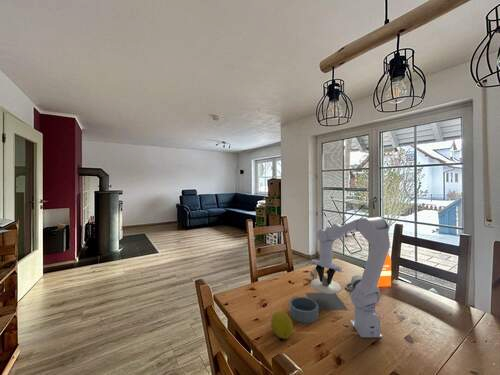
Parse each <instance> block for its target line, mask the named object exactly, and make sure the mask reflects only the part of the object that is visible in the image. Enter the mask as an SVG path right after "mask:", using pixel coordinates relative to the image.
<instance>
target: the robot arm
mask: <svg viewBox="0 0 500 375" xmlns="http://www.w3.org/2000/svg"><path fill="white" fill-rule="evenodd" d="M354 231H356V232H359V234H360V235H361V236H362V237H363V238H364V239H365V240H366V241H367V242H368V244H370V249H369V253H368V256H367V260H366V262H365V266H364V270H363V272H362V275H361V277H362V279H361V281H360V282H359V283H358V284H357V285H356V286H355V289H354V290H351V292H350V297H349V298H350V300H351V303H352V304H353V306H354V317H353V318H354V319H353V320H350V321H349V322H350V323H351V324H352V327H354V328H355V330H356V331H357V333H358V335H359V336H360V337H361V338H383V334H382V333H381V320H380V317H379V316H378V313H377V311H376V307H377V303H379V302H380V300H381V296H380V292H381V289H380V287H378V286H377V284H378V281H379V278H380V275H381V272H382V269H383V266H384V263H385V260H386V257H387V254H388V253H389V250H390V247H391V242H390V236H389V231H390V225H389V224H388V222H387V220H386V219H385V218H384V217H383V216H382V217H381V216H375V217H361V218H359V219H354V220H352V221H350V222H347V223H345V224H343V225H342V224H341V223H340V224H339V223H333V224H332V226H327V227H325V228H324V229H321V228H320V229H319V230H318V231H317V233H316V237H317V240H318V241H319V259H311V260H310V264H311V265H315V266H314V267H315V269H316V270H317V276H318V279H319V278H320V282H322V276H325V275H324V273H325V268H326V276H327V277H328V285H330V284H331V281H333V277H334V275H335V273H336V272H338V273H341V272H342V270H343V267H342V266H340V265H337V264H335V263H333V245H334V241H335V240H337V239H341V238H343V237H344V236H346V233H349V232H354Z"/></svg>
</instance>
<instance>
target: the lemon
mask: <svg viewBox="0 0 500 375" xmlns="http://www.w3.org/2000/svg"><path fill="white" fill-rule="evenodd" d="M270 323H271V329H272V331H273V333H274V334H275V335H276V336H277V338H280V339H283V340H286V339H288V338H290V337H291V335H292V334H293V329H294V323H293V320H292V318H291V316H290V315H288V313H286V312H284V311H282V310H279V311H275V312H274V313H273V315H272V318H271V322H270Z"/></svg>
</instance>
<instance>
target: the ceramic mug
mask: <svg viewBox="0 0 500 375" xmlns="http://www.w3.org/2000/svg"><path fill="white" fill-rule="evenodd" d="M361 279H362V275H353V277H351V280H350V282H348V283H347V284H345V285H344V288H345V289H346V290H347V291H353V290H354V289H355V286H356V285H357V284H358V283H359V282H360V281H361Z"/></svg>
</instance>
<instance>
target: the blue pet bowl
mask: <svg viewBox="0 0 500 375" xmlns="http://www.w3.org/2000/svg"><path fill="white" fill-rule="evenodd" d="M288 304H289V305H288V306H289V309H288V310H289V317H290V318H291V319H293V320H294V321H295V322H299V323H302V324H311V323H315V322H317V321H318V318H319V311H320V310H319V306H318V304H317V302H315V301H314V300H312V299H310V298H308V297H307V296H306V297H305V296H295V297H293V298H291V299H290V301H289V303H288Z"/></svg>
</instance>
